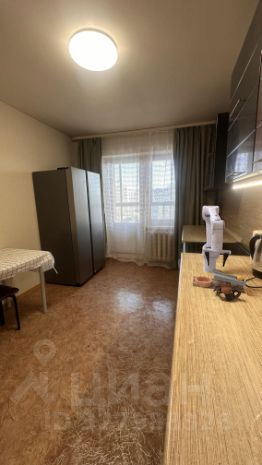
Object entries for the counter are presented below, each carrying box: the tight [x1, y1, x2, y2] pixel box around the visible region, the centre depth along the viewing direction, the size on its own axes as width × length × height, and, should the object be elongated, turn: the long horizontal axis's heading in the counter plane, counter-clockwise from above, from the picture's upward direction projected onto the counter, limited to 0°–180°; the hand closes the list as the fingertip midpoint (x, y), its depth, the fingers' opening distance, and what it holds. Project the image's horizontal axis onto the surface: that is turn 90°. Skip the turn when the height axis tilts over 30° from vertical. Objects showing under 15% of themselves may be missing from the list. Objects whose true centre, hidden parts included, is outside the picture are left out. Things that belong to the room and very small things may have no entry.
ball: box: [237, 274, 245, 281], centre depth 104 cm, size 3×3×3 cm
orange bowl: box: [195, 275, 213, 288], centre depth 110 cm, size 9×9×3 cm
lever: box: [212, 268, 247, 289], centre depth 109 cm, size 13×15×4 cm
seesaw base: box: [192, 275, 247, 294], centre depth 110 cm, size 14×26×4 cm, turn 70°
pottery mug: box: [212, 285, 242, 303], centre depth 97 cm, size 12×10×8 cm
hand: (215, 266), depth 113 cm, fingers open, 7 cm apart
